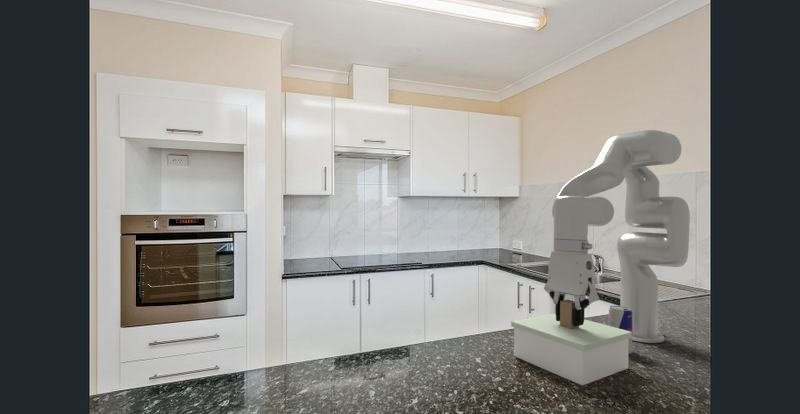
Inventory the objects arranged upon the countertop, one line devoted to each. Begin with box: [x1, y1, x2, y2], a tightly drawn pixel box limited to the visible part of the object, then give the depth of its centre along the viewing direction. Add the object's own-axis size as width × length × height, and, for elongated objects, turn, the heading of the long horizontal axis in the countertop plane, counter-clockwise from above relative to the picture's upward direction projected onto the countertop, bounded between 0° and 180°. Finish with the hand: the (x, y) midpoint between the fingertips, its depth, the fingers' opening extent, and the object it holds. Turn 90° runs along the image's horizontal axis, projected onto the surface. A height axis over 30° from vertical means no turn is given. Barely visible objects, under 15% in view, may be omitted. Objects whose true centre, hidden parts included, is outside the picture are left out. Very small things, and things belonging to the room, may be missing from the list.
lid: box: [510, 300, 632, 351], centre depth 88 cm, size 19×19×7 cm
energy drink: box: [608, 305, 633, 356], centre depth 96 cm, size 5×5×12 cm
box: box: [513, 327, 629, 386], centre depth 87 cm, size 18×18×8 cm
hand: (569, 322), depth 88 cm, fingers open, 3 cm apart
